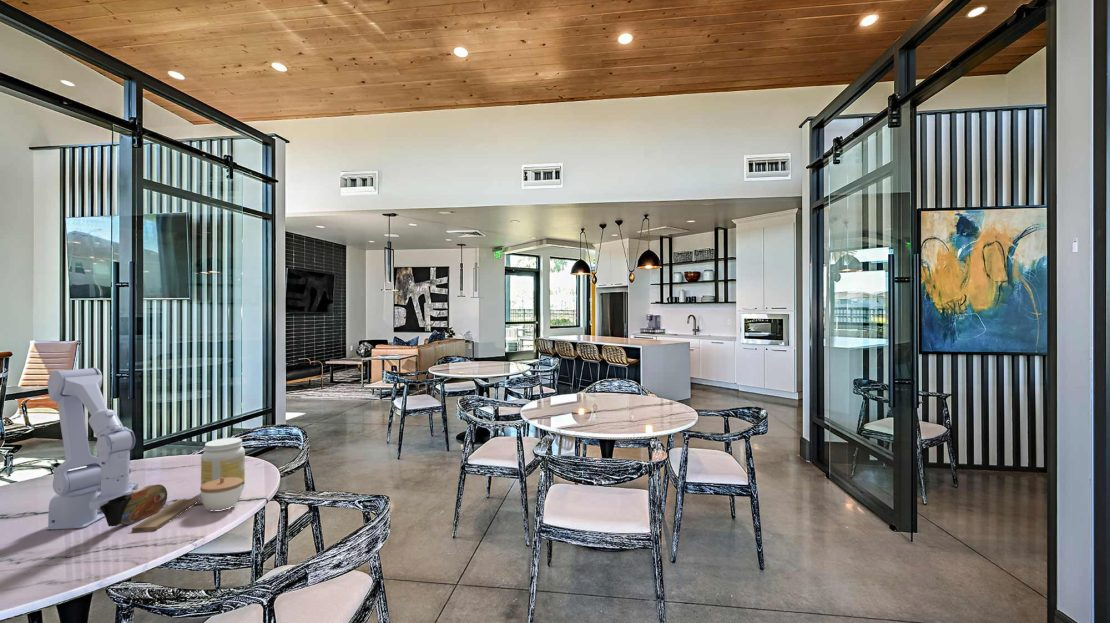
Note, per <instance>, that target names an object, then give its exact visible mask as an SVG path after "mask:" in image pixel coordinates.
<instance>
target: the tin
mask: <svg viewBox="0 0 1110 623" xmlns="http://www.w3.org/2000/svg"><path fill="white" fill-rule="evenodd" d="M125 496H131V500H130V501H129V503H128V505H127V506H126V508H125V511H124V513H123V516H122V520H121V523H120V524H119V525H127V526H128V525H132V524H136V523H137V522H140V521H141V520H144V519H145V518H146V519H147V518H149V517H151V516H153V515H154V514H156V513H158V512H159V511H161V510H163V509H164V508H163V507H164V506H165V504H166V503H167V500H168V490H167V488H166V487H165V486H164V485H163V484H150V485H147V486H144V487H142V488H139V489H137V490H133V493H131V494H129V495H125Z"/></svg>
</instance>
